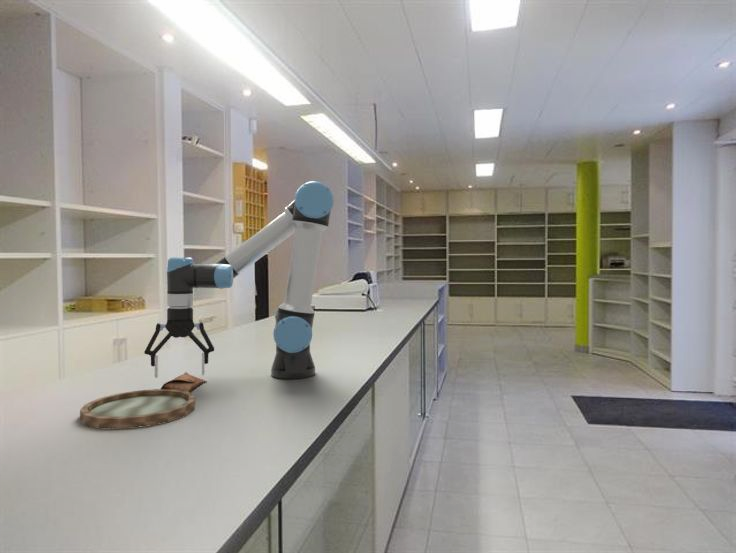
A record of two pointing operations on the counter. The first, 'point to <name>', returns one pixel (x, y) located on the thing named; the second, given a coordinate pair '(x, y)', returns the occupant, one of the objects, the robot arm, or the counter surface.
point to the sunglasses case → (184, 383)
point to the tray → (137, 408)
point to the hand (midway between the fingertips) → (180, 375)
